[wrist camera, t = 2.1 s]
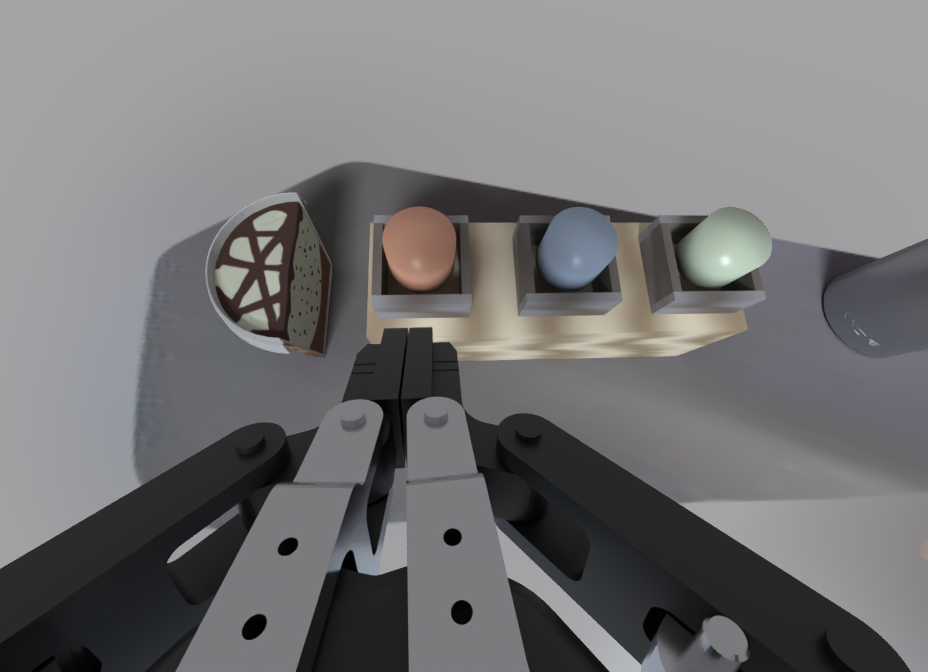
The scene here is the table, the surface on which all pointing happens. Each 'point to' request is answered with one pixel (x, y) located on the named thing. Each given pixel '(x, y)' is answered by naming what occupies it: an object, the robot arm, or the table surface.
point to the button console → (560, 296)
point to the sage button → (723, 248)
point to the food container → (272, 276)
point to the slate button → (576, 248)
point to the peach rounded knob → (420, 248)
